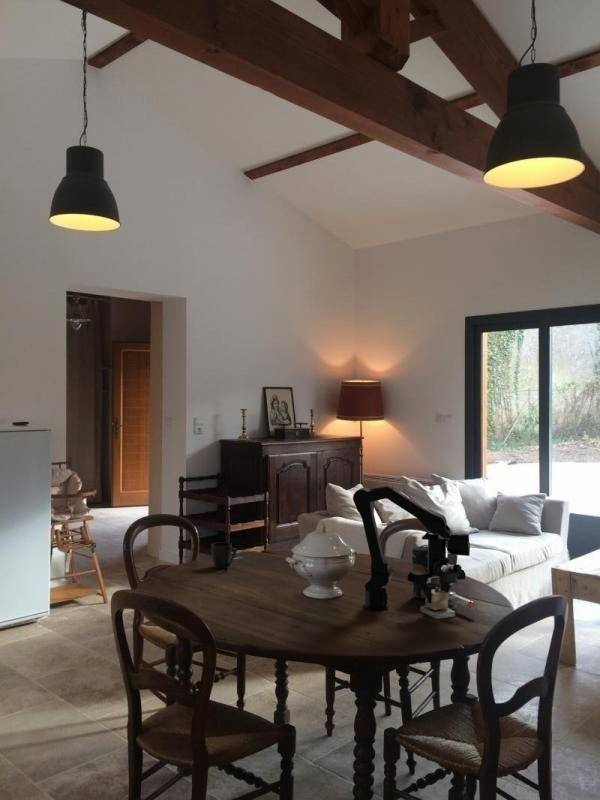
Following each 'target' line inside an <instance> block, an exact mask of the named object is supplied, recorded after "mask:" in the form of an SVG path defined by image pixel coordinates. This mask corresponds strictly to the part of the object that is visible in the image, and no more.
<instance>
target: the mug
mask: <svg viewBox="0 0 600 800" xmlns="http://www.w3.org/2000/svg"><path fill="white" fill-rule="evenodd" d="M210 551H211V557H212V559H211V560H212V563H213V567H214V568H215V569H216V568H226V569H228V568H229V567H231V565H232V564H233V562H234V559H235V557H236V554H237V549H236V548H235V547H233V545H232V542H224V541H223V542H214V543H211V550H210Z"/></svg>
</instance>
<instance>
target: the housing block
mask: <svg viewBox="0 0 600 800" xmlns="http://www.w3.org/2000/svg"><path fill="white" fill-rule="evenodd" d="M424 606H427V607H429V608H431V609H434V610H439V609H448V593H447V592H445V591H442V590H440V589H439V587H435V589H433V590H432V600H431V604H430V603H428V601H427V599H426V598H425V605H424Z"/></svg>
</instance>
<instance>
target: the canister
mask: <svg viewBox="0 0 600 800" xmlns="http://www.w3.org/2000/svg"><path fill="white" fill-rule="evenodd" d="M411 554H412V555H411V561H412V564H411V566H412V568H411V569H412V572H414V571H420V572H423V573H425V574H426V573H428V572H426V571H425V568H428V559H426V556H427V555H428V544H423V545H421V546H415V547H413V548H412V549H411ZM432 576H434V575H432ZM431 583H433V584H434V585H433V586H432V590H433V589H435V587H439V589H440V590H441V587H440V578H436V579H431ZM412 594H413V596H414V597H416V598H418V599H419V598H420V599H426V596H425V594H424V591H423V589H422V587H421V586H420V584H415V583H413V582H412Z"/></svg>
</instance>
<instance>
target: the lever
mask: <svg viewBox="0 0 600 800" xmlns="http://www.w3.org/2000/svg"><path fill="white" fill-rule="evenodd" d="M448 600H453V601H455V603H458V604H460V605H462V606H464V607H467V608H469V609H470V610H473V609H475V608H476V607H477V606H476V605H477V604H476V602H475V601H474V600H470V599H468V598H465V597H463V596H461V595H458V594H457V593H456V592H455V591H449V592H448Z"/></svg>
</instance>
